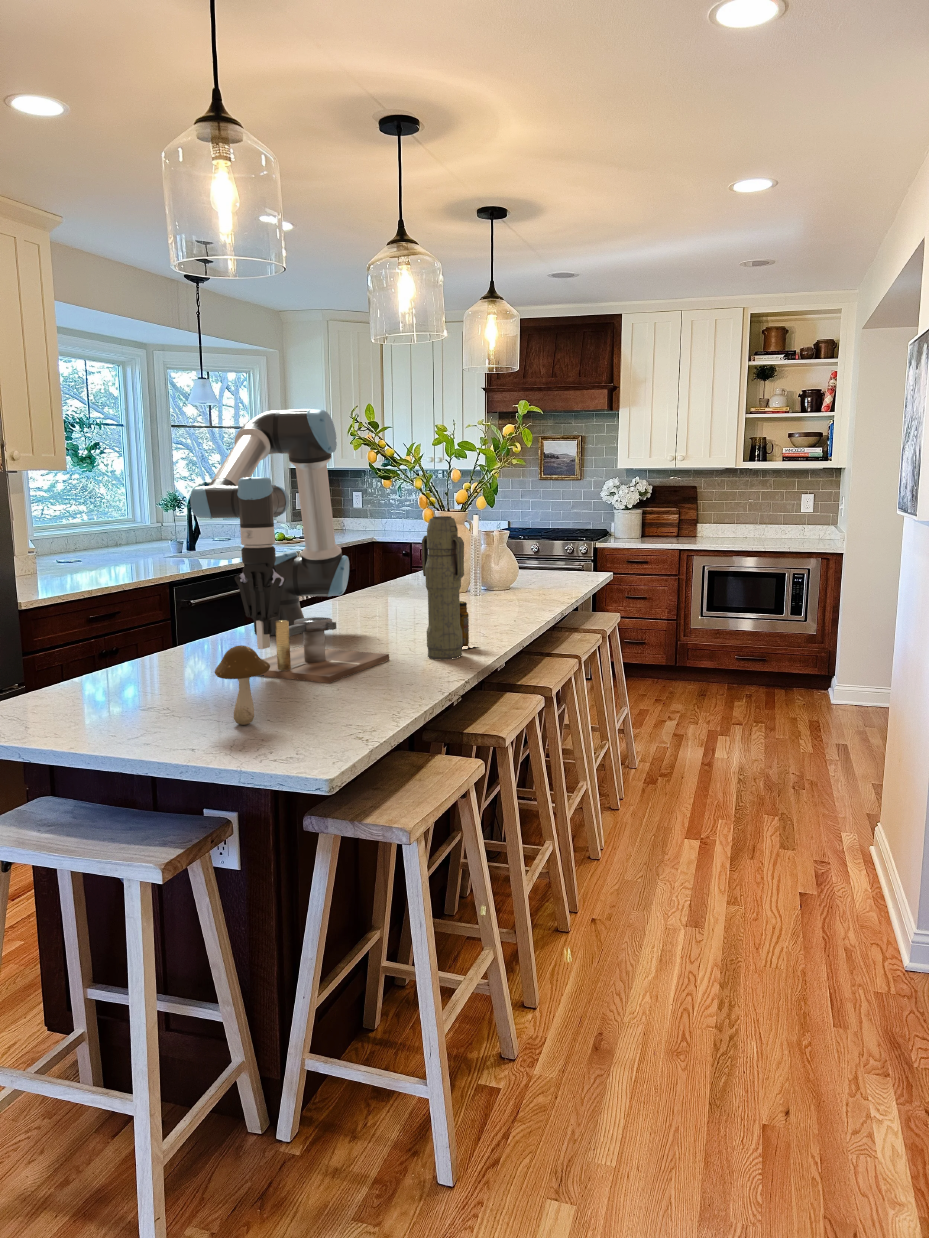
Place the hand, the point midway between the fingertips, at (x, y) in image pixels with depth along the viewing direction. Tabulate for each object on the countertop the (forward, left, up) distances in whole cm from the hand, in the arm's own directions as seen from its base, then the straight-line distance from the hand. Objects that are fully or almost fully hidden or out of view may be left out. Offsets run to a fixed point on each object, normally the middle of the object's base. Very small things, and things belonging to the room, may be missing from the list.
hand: (263, 647), depth 205 cm
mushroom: (+22, -34, -7) cm, 41 cm away
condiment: (+27, +46, -7) cm, 54 cm away
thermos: (+29, +34, -7) cm, 46 cm away
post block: (+5, +12, -7) cm, 15 cm away
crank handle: (+6, +8, -5) cm, 11 cm away
